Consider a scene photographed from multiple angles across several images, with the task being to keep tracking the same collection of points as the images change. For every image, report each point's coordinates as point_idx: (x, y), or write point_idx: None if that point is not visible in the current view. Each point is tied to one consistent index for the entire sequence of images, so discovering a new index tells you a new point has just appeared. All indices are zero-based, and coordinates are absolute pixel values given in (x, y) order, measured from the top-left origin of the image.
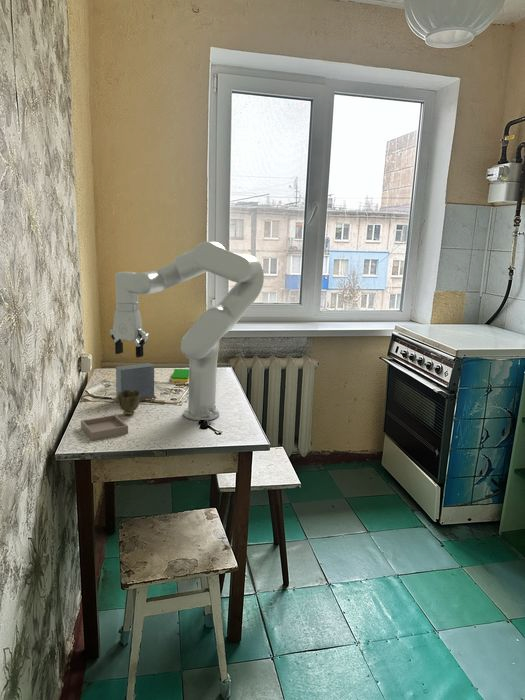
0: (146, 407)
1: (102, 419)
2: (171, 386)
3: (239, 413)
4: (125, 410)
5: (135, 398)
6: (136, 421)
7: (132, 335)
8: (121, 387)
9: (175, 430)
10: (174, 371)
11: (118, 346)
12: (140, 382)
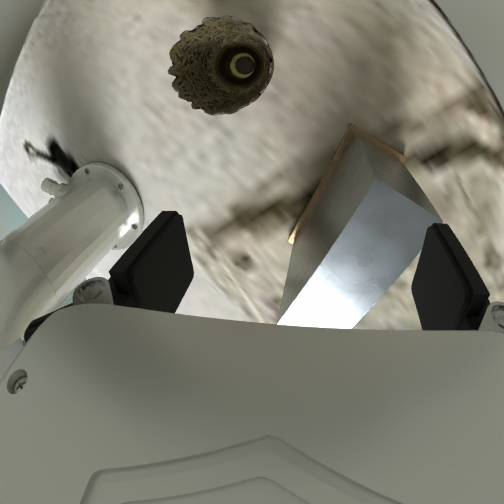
0: (252, 154)
1: None
2: None
3: None
4: (225, 39)
5: (175, 64)
6: None
7: (21, 366)
8: (360, 149)
9: (71, 87)
10: None
11: (445, 288)
12: (316, 230)
